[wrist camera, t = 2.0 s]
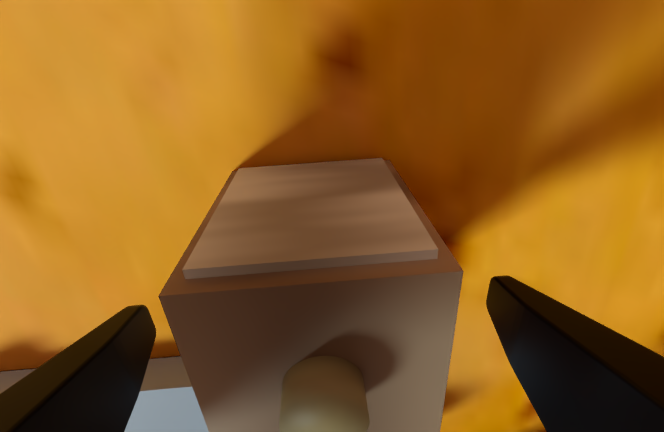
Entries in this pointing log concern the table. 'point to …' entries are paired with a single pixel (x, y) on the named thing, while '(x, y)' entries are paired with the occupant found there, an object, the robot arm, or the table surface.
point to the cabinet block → (316, 303)
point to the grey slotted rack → (153, 398)
